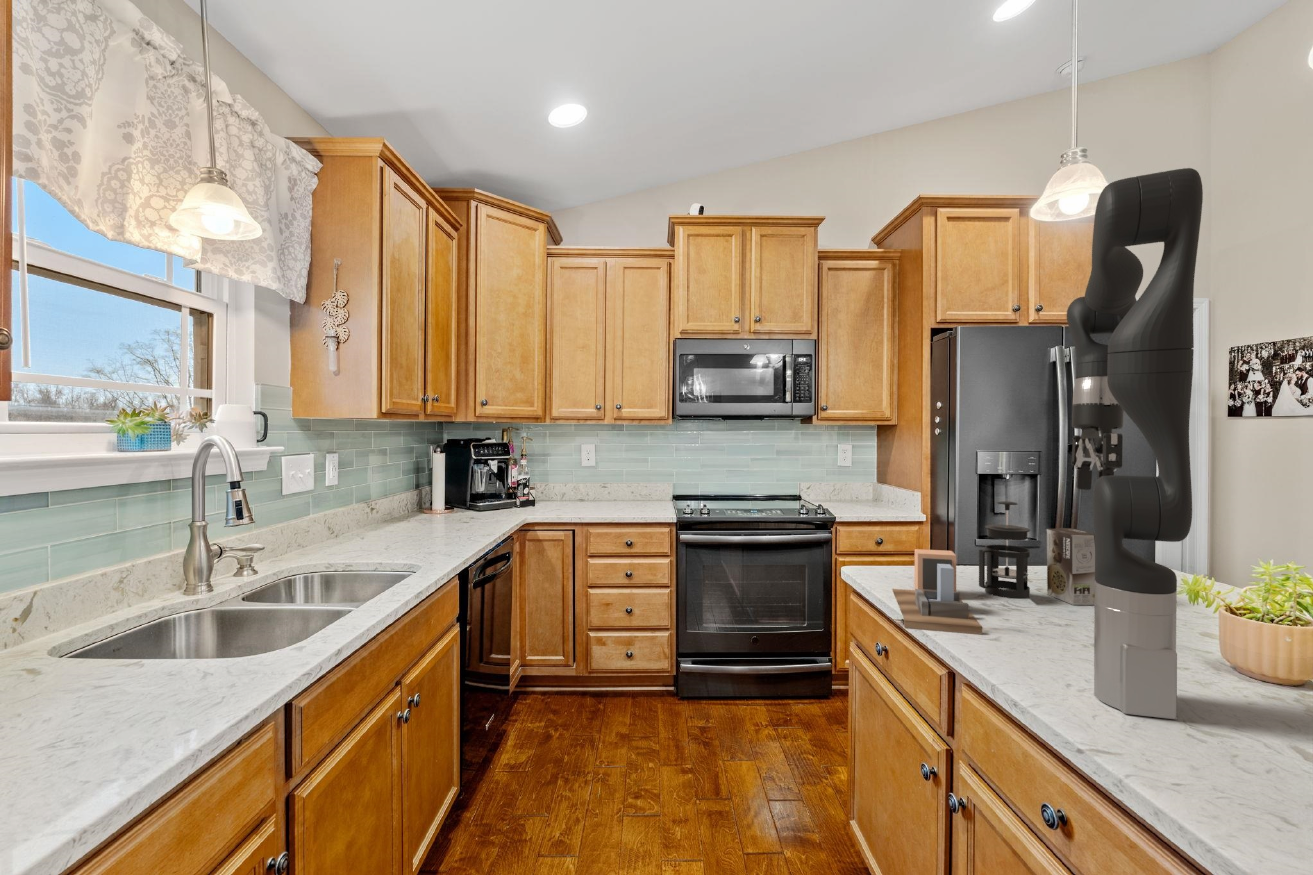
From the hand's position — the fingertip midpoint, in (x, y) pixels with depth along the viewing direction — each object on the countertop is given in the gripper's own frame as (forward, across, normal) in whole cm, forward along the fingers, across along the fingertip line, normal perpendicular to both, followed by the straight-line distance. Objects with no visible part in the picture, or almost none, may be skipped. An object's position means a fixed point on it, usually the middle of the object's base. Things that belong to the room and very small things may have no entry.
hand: (1093, 490), depth 106 cm
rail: (+29, -14, -24) cm, 40 cm away
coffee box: (+27, -33, +10) cm, 44 cm away
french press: (+28, -29, -5) cm, 41 cm away
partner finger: (+27, -23, -22) cm, 42 cm away
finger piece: (+28, -11, -22) cm, 37 cm away
